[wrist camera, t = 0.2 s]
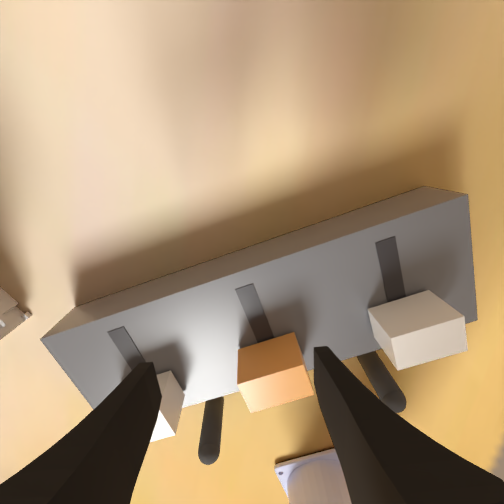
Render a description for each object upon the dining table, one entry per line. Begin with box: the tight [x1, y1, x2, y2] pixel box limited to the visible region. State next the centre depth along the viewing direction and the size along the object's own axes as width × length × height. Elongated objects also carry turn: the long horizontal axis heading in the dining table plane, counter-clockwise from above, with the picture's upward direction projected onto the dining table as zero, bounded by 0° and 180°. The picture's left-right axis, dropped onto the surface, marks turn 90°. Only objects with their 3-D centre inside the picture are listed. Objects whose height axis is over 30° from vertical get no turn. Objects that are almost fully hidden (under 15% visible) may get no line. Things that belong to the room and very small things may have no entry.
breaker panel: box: [40, 186, 478, 409], centre depth 20 cm, size 9×28×4 cm, turn 110°
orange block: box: [237, 332, 314, 413], centre depth 17 cm, size 2×4×3 cm, turn 109°
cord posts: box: [198, 351, 406, 465], centre depth 22 cm, size 2×16×6 cm, turn 109°
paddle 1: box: [150, 370, 185, 442], centre depth 18 cm, size 2×4×3 cm, turn 109°
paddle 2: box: [368, 290, 468, 371], centre depth 17 cm, size 2×4×3 cm, turn 110°
